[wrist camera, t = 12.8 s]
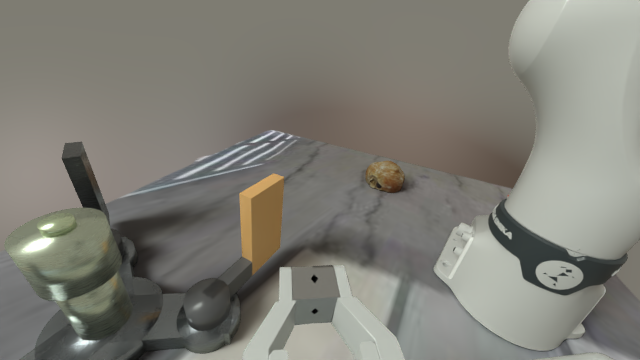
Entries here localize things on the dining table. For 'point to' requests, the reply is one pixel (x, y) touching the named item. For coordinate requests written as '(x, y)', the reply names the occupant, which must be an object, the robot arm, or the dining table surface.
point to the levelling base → (100, 284)
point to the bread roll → (385, 176)
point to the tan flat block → (257, 247)
